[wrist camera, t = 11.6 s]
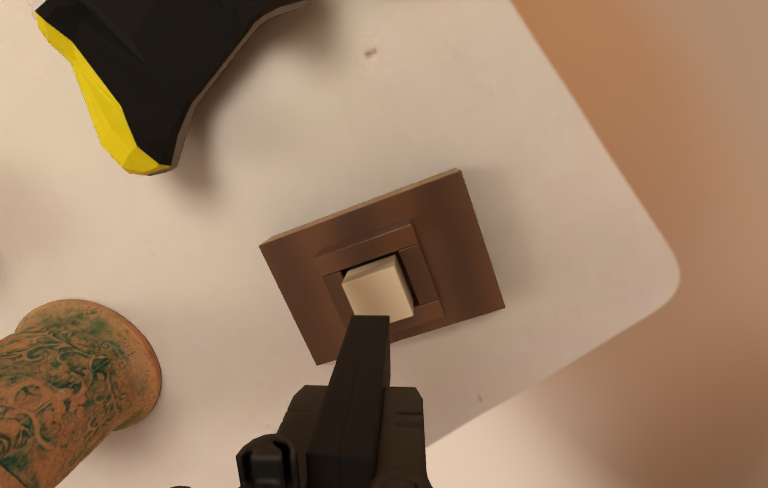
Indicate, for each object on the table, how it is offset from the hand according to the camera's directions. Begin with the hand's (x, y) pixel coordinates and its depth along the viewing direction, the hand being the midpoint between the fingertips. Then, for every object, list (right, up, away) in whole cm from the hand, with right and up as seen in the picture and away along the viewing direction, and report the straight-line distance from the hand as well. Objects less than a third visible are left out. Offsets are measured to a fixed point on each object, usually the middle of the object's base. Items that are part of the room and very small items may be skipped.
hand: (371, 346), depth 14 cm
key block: (+1, +3, +10) cm, 10 cm away
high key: (0, +2, +7) cm, 7 cm away
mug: (-25, -7, +15) cm, 30 cm away
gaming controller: (-10, +16, +7) cm, 21 cm away
